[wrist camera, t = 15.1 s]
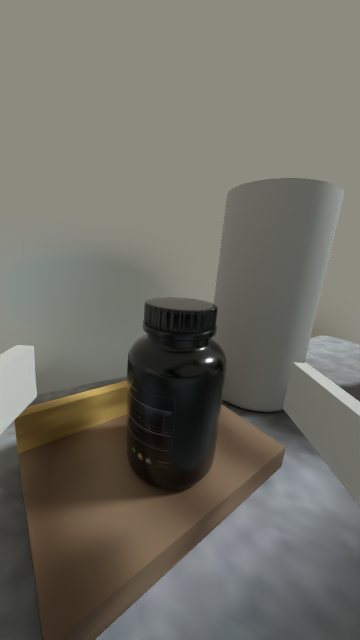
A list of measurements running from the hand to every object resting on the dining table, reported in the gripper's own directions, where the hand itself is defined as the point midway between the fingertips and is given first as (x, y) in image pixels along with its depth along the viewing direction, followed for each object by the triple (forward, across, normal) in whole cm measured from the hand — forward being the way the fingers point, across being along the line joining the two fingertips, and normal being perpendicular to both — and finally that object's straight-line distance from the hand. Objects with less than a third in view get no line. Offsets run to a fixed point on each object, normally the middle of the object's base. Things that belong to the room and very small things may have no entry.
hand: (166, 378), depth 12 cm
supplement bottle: (+4, +1, -9) cm, 10 cm away
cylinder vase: (+19, +12, -11) cm, 25 cm away
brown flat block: (+5, 0, -11) cm, 12 cm away
